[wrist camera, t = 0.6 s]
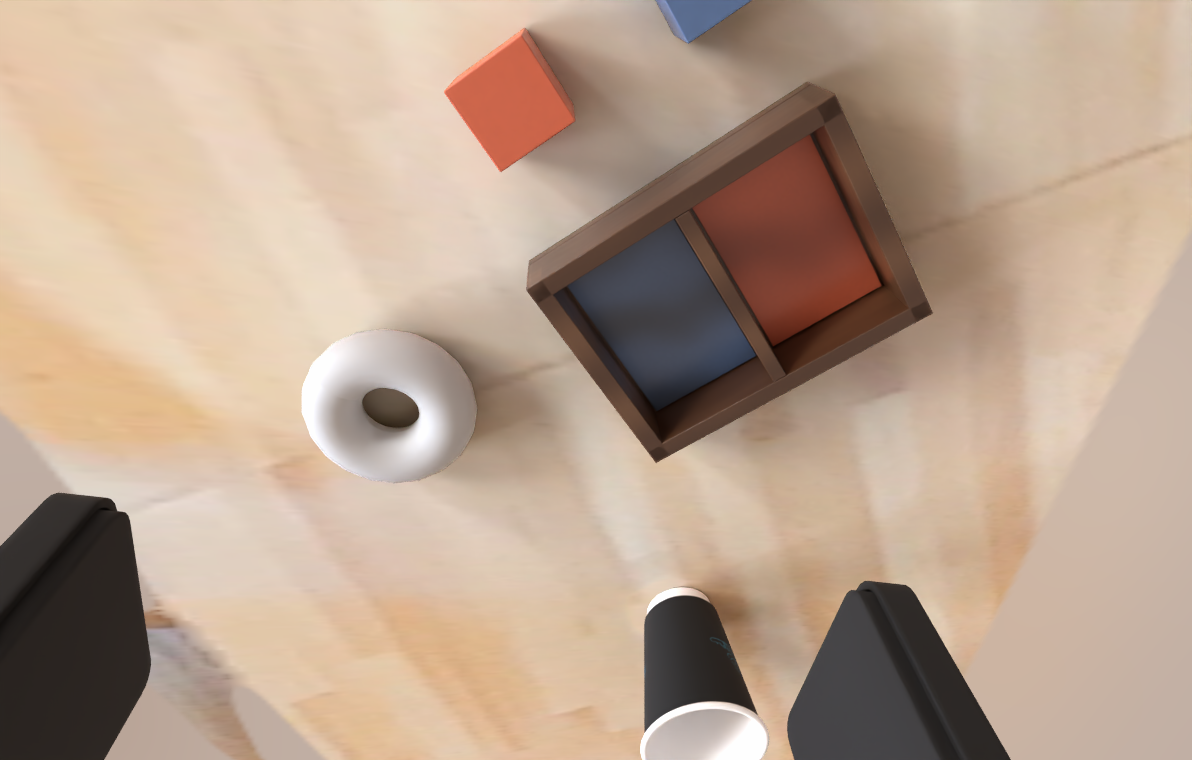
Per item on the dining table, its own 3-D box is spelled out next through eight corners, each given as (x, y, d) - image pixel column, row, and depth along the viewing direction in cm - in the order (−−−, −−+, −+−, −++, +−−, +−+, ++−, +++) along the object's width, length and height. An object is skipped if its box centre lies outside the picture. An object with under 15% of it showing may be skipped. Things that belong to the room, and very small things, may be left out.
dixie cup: (752, 590, 54) (795, 725, 44) (698, 658, 57) (726, 798, 48) (658, 557, 52) (681, 692, 42) (607, 630, 55) (618, 770, 46)
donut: (455, 476, 48) (500, 348, 43) (448, 511, 45) (495, 378, 40) (298, 435, 46) (327, 295, 41) (280, 469, 43) (309, 323, 38)
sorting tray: (528, 260, 40) (525, 289, 37) (807, 80, 37) (835, 93, 33) (648, 423, 46) (655, 463, 42) (900, 283, 42) (933, 313, 39)
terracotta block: (454, 79, 36) (443, 91, 32) (525, 27, 35) (521, 34, 31) (505, 152, 38) (500, 172, 34) (573, 105, 37) (575, 121, 33)
